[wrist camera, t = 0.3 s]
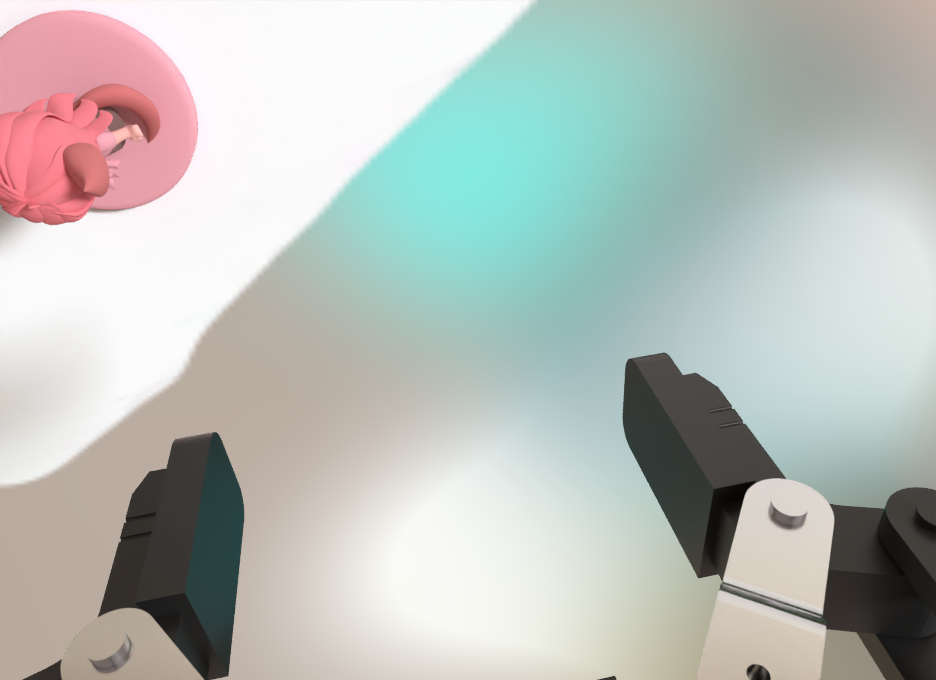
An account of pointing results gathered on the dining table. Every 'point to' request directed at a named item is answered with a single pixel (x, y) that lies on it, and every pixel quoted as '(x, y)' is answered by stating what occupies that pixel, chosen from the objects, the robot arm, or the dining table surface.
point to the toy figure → (88, 118)
